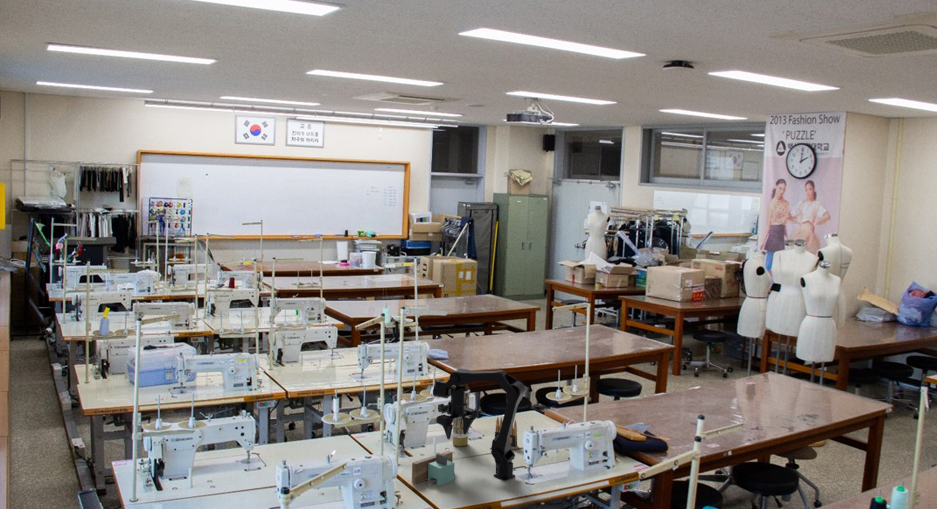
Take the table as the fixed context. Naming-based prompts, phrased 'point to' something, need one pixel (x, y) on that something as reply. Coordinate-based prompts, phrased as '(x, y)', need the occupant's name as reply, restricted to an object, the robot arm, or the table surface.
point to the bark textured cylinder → (460, 427)
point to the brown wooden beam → (426, 468)
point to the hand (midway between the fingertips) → (456, 436)
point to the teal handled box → (441, 469)
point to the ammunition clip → (512, 436)
